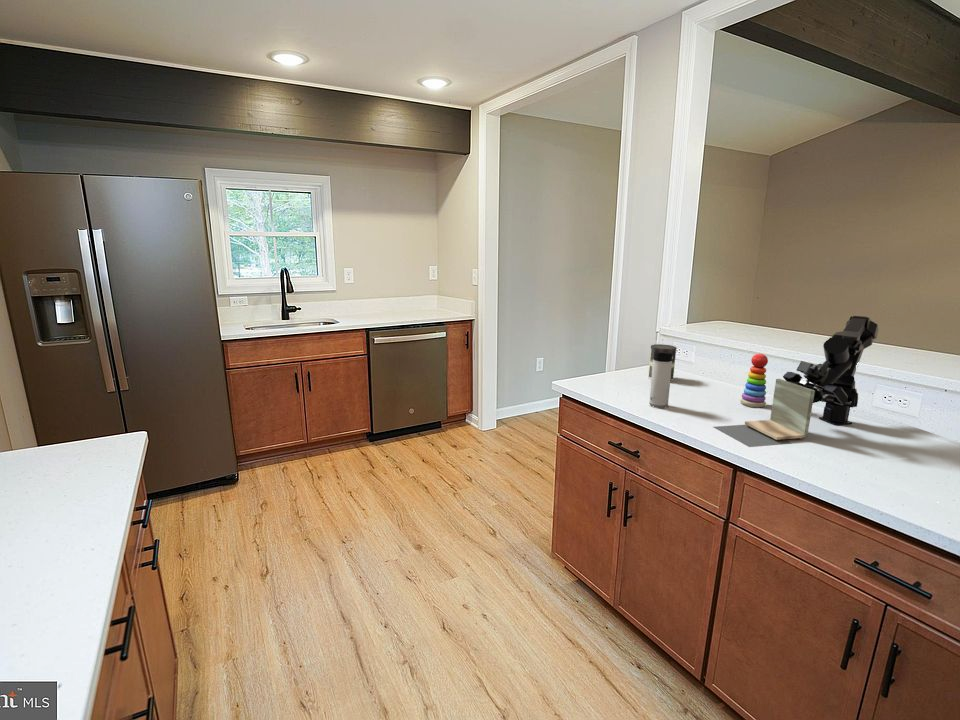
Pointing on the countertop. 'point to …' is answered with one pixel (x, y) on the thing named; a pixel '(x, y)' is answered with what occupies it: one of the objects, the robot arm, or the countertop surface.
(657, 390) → the travel mug
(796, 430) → the wooden bookend
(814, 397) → the robot arm
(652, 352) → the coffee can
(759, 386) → the stacking toy
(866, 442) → the countertop surface
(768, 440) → the mat
